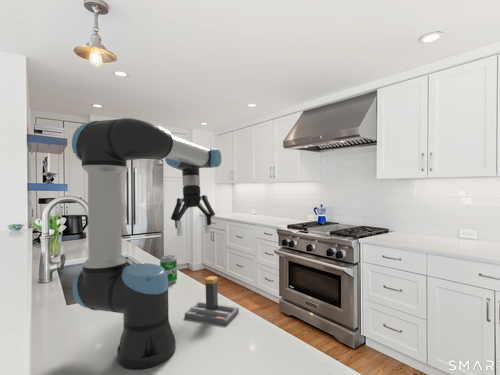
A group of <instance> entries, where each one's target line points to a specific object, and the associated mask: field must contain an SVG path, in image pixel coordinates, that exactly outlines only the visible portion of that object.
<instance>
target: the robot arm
mask: <svg viewBox="0 0 500 375" xmlns="http://www.w3.org/2000/svg"><path fill="white" fill-rule="evenodd" d="M71 148H72V152H73V154H75V156H76V158H77V159H79V161H81V168H82V169H83V170H84V171H85V172H86V173H87V207H88V208H87V211H88V212H87V213H88V215H87V223H88V226H87V228H88V229H87V230H88V231H87V232H88V237H87V238H88V239H87V240H88V243H87V244H88V258H87V259H86V260H85V261H84V262H83V263H82V269H81V270H80V271H79V272H77V274H76V277H75V278H74V279H73V284H72V294H73V298H74V299H75V302H76V303H77V304H78V305H80V307H83V308H85V309H89V310H90V311H101V312H102V311H103V312H110V313H116V314H117V313H118V314H122V315H123V316H122V317H123V330H122V333H121V336H120V341H119V345H118V346H117V350H116V360H117V364H119V365H120V366H121V367H123V368H125V369H130V370H143V369H148V368H149V369H150V368H152V367H156V366H158V365H160V364H163V363H164V362H166V361H167V360H169V359H170V358H171V357H172V356H173V355H174V354H175V352H176V348H177V345H176V344H177V343H176V342H177V340H176V337H175V334H174V333H173V329H172V326H171V324H170V323H171V322H170V319H169V318H170V317H169V285H170V284H168V279H167V272H166V270H165V269H164V268H163V267H161V266H160V265H158V264H156V263H155V264H154V263H147V262H144V263H141V262H139V263H134V264H129V265H128V258H126V257H125V256H124V255H123V253H122V252H123V251H122V249H123V248H122V243H123V242H122V173H124V171H125V170H126V169H127V161H135V160H144V159H145V160H146V159H155V160H163V159H164V160H165V163H166V164H167V165H168V166H169V167H170V168H173V169H177V170H180V171H181V172H182V173H181V174H182V186H183V187H182V195H183V197H182V198H176V204H175V207H174V209H173V212H172V214H171V217H170V219H171V220H172V221H174V223H175V224H174V227H175V229H176V236H178V237H179V236H180V237H181V236H182V235H183V232H182V230H183V229H182V227H183V225H182V220H181V219H182V217H183V215H184V214H185V213H186V211H187V210H188V209H189V208H196V207H197V208H198V209H199V210H200V211H201V212H202V214H203V215H205V217H204V229H205V230H204V231H205V234H211V228H210V226H211V225H212V217H215V216H216V213H215V210H214V209H213V207H212V205H211V204H210V202H209V199H208V196H207V194H203V195H201V187H200V185H201V181H200V180H201V177H200V169H208V168H209V169H212V168H218V167H220V166H221V164H222V154H221V151H220V150H219V149H218V148H212V147H211V148H205V147H203V146H201V145H198V144H195V143H193V142H190V141H188V140H185V139H183V138H180V137H178V136H175V135H173V134H172V133H171V132H170V131H169V129H166V128H165V127H162V126H160V125H156V124H154V123H151V122H149V121H146V120H145V121H144V120H142V119H138V118H137V119H135V118H131V117H129V118H127V117H124V118H116V119H105V120H104V119H103V120H93V121H90V122H86V123H83V124H81V125H80V126H79V127H77V128H76V129H75V131H74V133H73V135H72V138H71ZM201 201H202V202H203V204H204V206H205V207H206V208H205V207H204V206H203V204H202V203H201Z"/></svg>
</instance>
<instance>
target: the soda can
mask: <svg viewBox="0 0 500 375" xmlns="http://www.w3.org/2000/svg"><path fill="white" fill-rule="evenodd" d="M177 260H178V259H177V257H176V256H175V255H171V254H170V255H169V254H167V255H165V256H162V257H161V258H160V259H159V262H160V263H159V264H160V265H159V266H161V267H163V268H164V269H165V270H166V272H167V279H168V284H169V285H172V284H175V283H176V281H177V280H178V267H177V266H178V264H177ZM174 282H175V283H174ZM171 283H172V284H171Z"/></svg>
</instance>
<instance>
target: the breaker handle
mask: <svg viewBox="0 0 500 375" xmlns="http://www.w3.org/2000/svg"><path fill="white" fill-rule="evenodd" d="M218 281H219V277H218V276H215V275H214V276H212V275H211V276H210V275H209V276H208V277H205V278H204V284H205V302H206V309H210V310H217V309H218V304H219V302H218V301H219V298H218V297H219V296H218Z"/></svg>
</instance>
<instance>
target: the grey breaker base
mask: <svg viewBox="0 0 500 375" xmlns="http://www.w3.org/2000/svg"><path fill="white" fill-rule="evenodd" d="M239 309H240V308H239V307H236V306H232V305H226V304H225V305H224V304H219V303H218V309H217V310H210V309H206V301H198V302H197V303H196V304H195V305H194V306H191V307H190V308H189V309H188V310H187V311H186V312H184V319H190V320H195V321H201V322H202V321H203V322H206V323H207V322H208V323H214V324H220V325H226V326H227V325H228V324H229V323H230V322H231V321H232V320H233V319H234V317H236V316H237V314H239V312H240V310H239Z"/></svg>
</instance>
